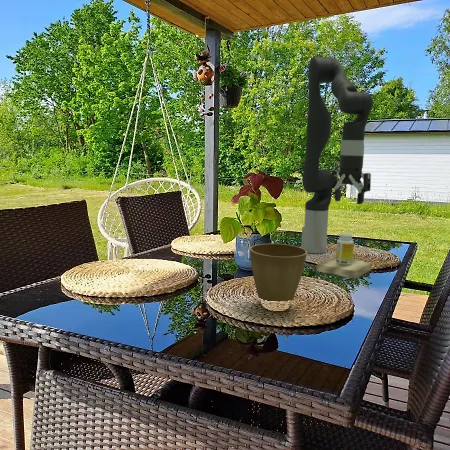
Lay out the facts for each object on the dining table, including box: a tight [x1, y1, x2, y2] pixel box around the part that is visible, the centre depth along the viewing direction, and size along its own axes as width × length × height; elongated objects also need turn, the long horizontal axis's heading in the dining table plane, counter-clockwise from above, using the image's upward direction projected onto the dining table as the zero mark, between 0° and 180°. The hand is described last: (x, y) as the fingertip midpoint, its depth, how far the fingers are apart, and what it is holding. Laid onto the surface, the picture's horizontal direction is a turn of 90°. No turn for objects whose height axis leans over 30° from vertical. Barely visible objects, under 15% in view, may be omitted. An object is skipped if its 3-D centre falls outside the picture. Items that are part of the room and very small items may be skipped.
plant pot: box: [249, 243, 308, 301], centre depth 122 cm, size 15×15×16 cm
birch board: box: [316, 256, 373, 280], centre depth 160 cm, size 14×14×2 cm
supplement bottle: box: [335, 233, 355, 265], centre depth 159 cm, size 6×6×10 cm
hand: (348, 202), depth 156 cm, fingers open, 8 cm apart
